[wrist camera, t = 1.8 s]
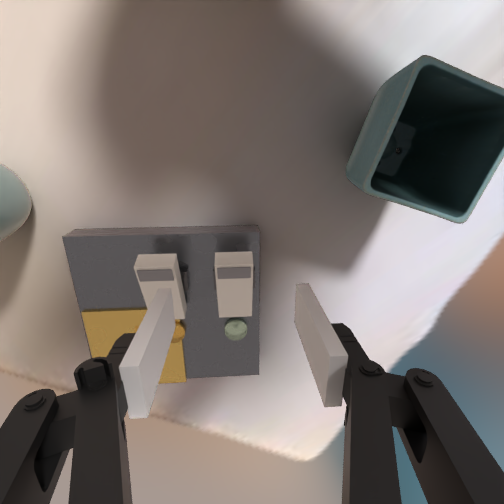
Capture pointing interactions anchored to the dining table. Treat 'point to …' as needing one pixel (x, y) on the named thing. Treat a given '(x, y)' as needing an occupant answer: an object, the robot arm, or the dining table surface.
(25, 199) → the cup
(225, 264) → the rocker
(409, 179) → the flower pot
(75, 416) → the robot arm
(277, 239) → the dining table surface
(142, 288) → the rocker
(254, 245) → the panel
